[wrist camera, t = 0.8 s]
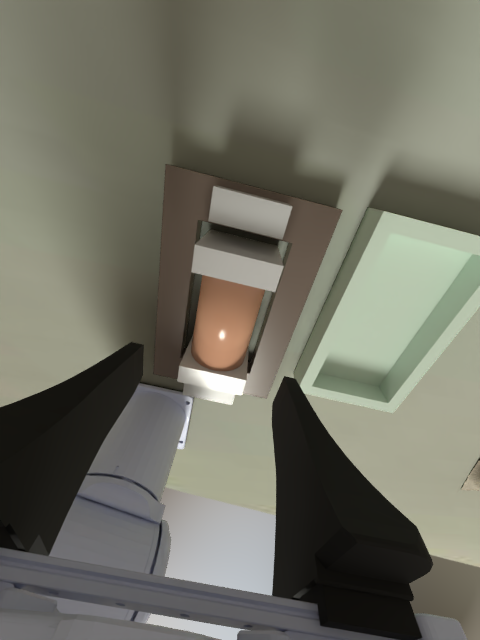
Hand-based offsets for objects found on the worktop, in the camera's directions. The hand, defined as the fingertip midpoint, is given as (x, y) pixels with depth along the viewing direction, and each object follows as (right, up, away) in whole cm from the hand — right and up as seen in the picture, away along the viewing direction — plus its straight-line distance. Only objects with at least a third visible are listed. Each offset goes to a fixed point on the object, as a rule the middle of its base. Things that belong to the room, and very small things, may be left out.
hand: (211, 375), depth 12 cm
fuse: (+1, +4, +8) cm, 9 cm away
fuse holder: (+1, +4, +8) cm, 9 cm away
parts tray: (+13, +3, +8) cm, 15 cm away
